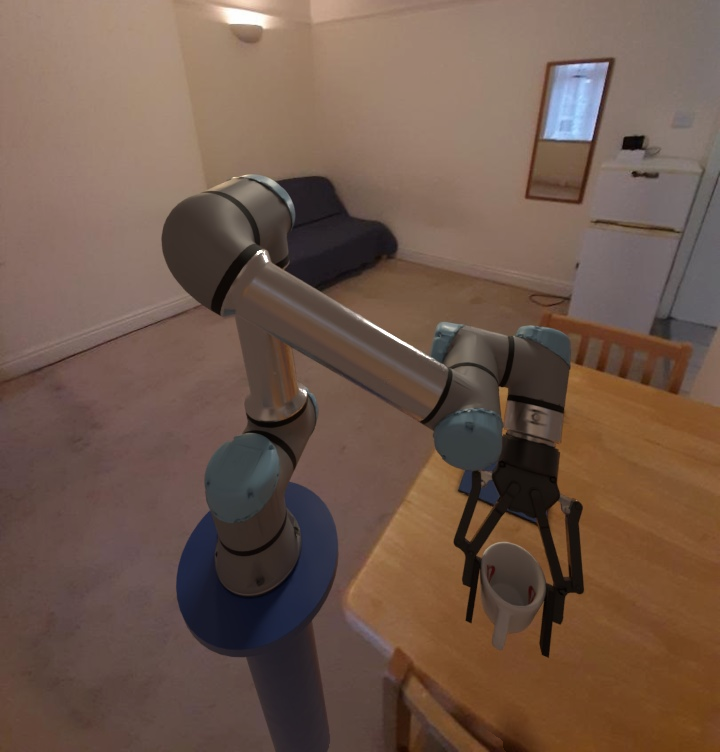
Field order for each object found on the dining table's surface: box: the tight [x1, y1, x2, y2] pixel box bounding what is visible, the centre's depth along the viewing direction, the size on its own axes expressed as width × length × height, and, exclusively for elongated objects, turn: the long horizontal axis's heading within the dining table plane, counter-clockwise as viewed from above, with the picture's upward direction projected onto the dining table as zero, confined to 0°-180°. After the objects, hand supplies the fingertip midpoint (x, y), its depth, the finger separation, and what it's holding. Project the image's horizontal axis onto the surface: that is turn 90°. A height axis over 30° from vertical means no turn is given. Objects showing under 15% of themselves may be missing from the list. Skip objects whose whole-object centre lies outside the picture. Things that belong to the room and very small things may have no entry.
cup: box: [479, 541, 547, 651], centre depth 52 cm, size 11×8×8 cm
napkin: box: [457, 460, 549, 525], centre depth 82 cm, size 16×14×1 cm
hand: (505, 633), depth 49 cm, fingers closed on cup, 8 cm apart
